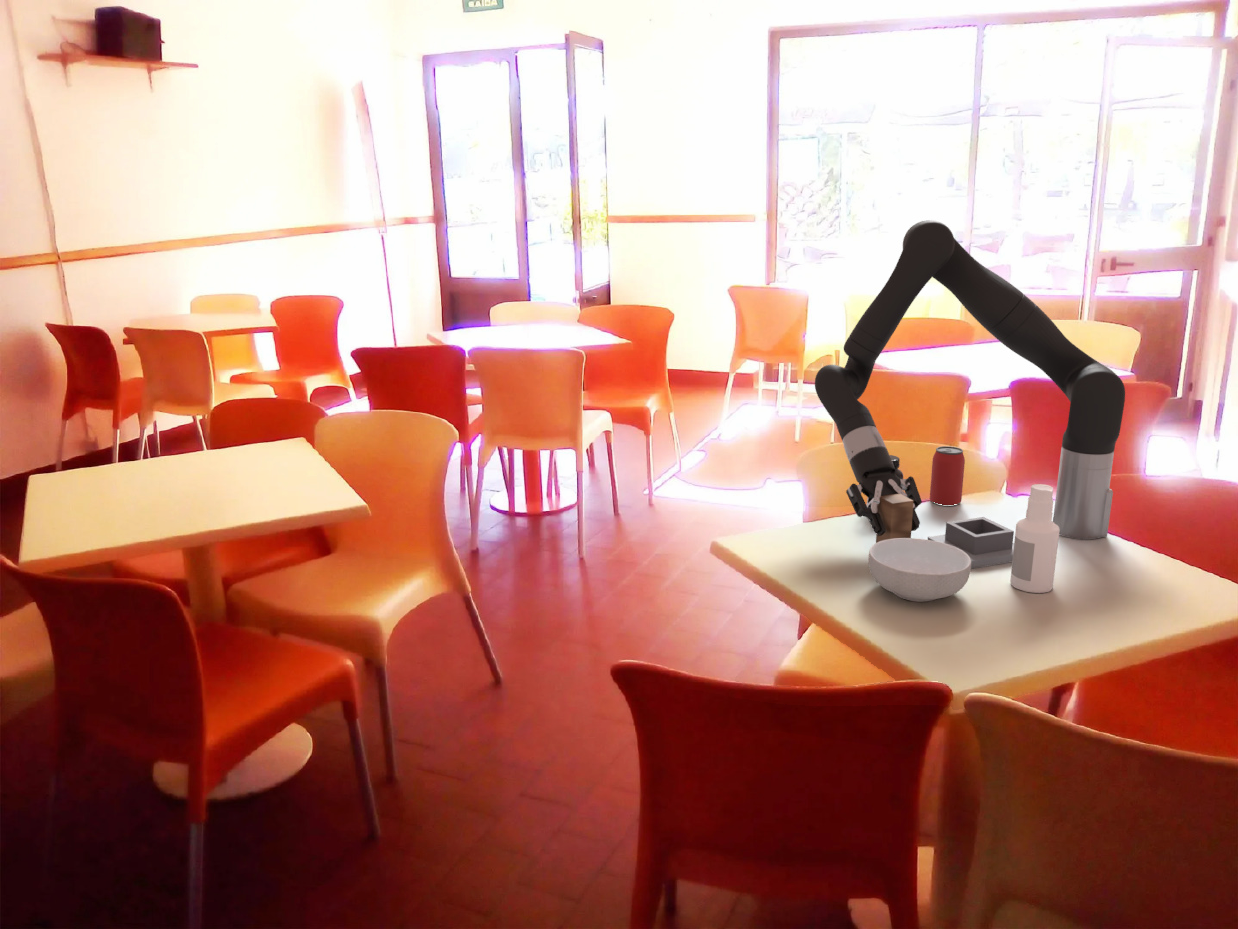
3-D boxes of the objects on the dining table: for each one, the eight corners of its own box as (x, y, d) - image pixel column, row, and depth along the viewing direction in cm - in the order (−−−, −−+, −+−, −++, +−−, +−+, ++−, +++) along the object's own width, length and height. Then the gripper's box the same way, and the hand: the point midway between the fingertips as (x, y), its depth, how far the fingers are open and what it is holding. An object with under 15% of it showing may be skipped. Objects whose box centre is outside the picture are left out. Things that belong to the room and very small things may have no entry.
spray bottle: (1020, 574, 171) (1030, 478, 166) (1059, 585, 166) (1071, 486, 161) (1003, 586, 166) (1013, 487, 161) (1042, 597, 162) (1054, 496, 156)
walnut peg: (895, 547, 184) (899, 493, 181) (909, 556, 180) (913, 500, 177) (875, 550, 183) (878, 496, 180) (888, 559, 179) (892, 503, 176)
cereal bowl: (970, 618, 154) (974, 578, 152) (864, 607, 159) (866, 568, 157) (966, 578, 170) (969, 540, 168) (869, 569, 175) (871, 532, 173)
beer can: (923, 499, 211) (927, 447, 208) (948, 496, 213) (953, 444, 210) (941, 508, 205) (945, 454, 202) (967, 505, 207) (972, 451, 204)
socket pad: (983, 535, 190) (985, 511, 188) (1029, 559, 178) (1032, 533, 176) (927, 544, 186) (929, 520, 184) (970, 568, 174) (973, 543, 172)
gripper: (843, 448, 181) (874, 527, 173) (908, 441, 185) (941, 517, 178) (827, 468, 187) (856, 545, 180) (890, 460, 191) (922, 535, 184)
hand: (898, 531), depth 179 cm, fingers open, 6 cm apart
